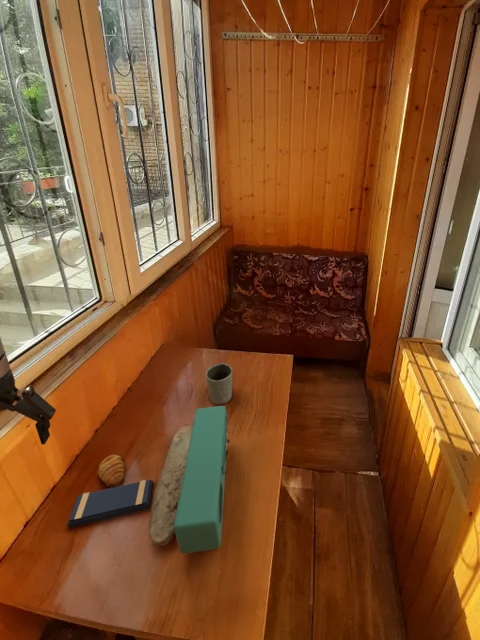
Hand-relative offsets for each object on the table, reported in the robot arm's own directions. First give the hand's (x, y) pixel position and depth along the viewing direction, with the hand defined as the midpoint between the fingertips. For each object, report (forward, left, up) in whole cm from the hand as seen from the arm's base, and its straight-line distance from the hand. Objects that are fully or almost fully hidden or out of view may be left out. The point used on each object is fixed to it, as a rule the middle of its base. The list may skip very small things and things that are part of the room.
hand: (14, 445), depth 78 cm
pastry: (+16, +7, -25) cm, 31 cm away
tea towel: (+19, -3, -25) cm, 32 cm away
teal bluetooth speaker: (+46, -6, -25) cm, 52 cm away
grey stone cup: (+50, +31, -25) cm, 64 cm away
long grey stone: (+36, 0, -25) cm, 44 cm away
